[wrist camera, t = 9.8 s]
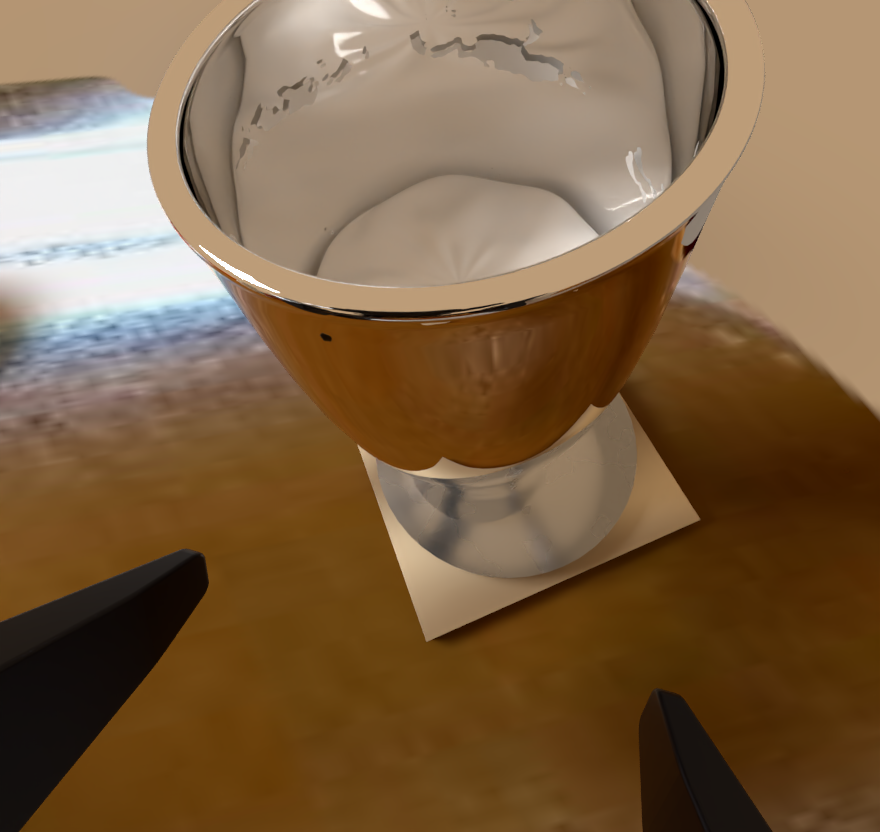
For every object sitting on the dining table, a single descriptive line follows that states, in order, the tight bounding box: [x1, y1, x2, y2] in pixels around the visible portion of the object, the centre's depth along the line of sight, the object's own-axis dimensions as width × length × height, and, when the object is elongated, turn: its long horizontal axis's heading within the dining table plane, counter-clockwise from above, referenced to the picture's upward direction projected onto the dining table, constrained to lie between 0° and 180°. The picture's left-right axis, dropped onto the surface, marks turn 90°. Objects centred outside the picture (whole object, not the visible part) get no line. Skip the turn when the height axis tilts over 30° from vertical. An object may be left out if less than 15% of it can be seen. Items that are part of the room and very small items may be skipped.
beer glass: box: [147, 0, 765, 524], centre depth 12 cm, size 7×7×15 cm
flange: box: [376, 393, 637, 578], centre depth 19 cm, size 11×11×1 cm
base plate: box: [358, 393, 700, 641], centre depth 20 cm, size 12×12×1 cm
